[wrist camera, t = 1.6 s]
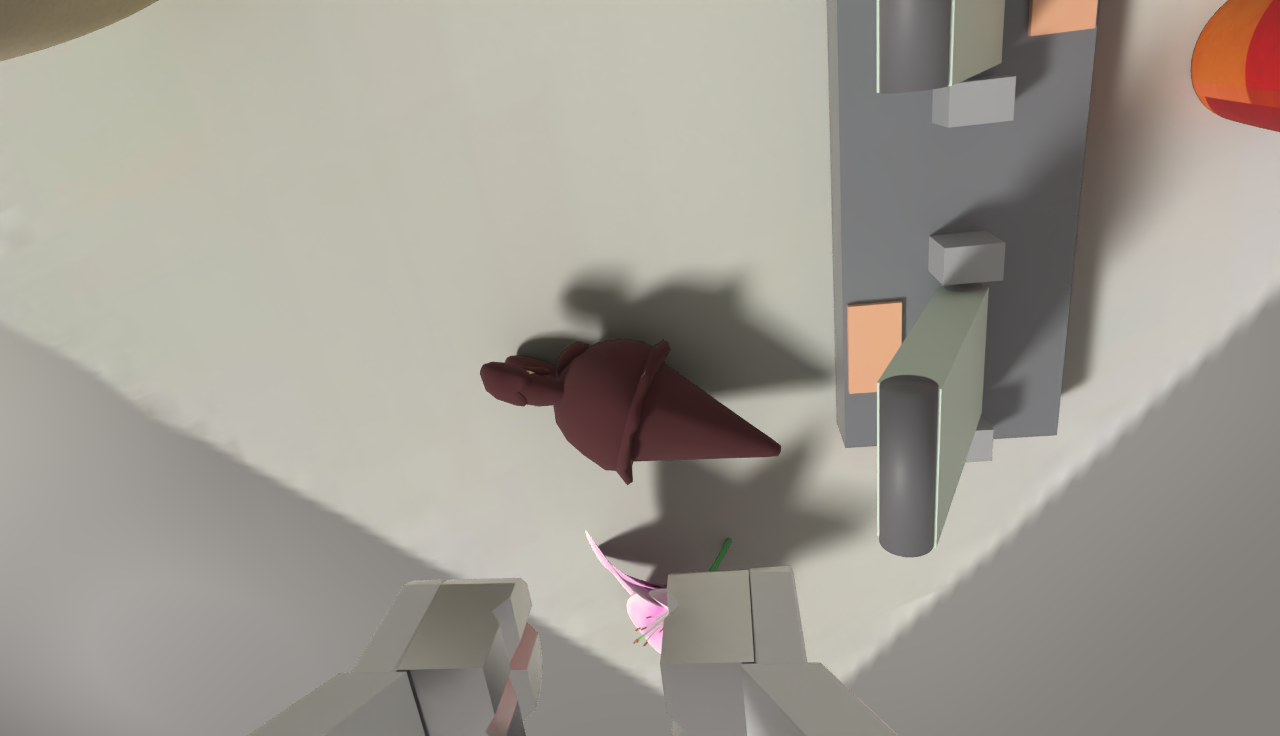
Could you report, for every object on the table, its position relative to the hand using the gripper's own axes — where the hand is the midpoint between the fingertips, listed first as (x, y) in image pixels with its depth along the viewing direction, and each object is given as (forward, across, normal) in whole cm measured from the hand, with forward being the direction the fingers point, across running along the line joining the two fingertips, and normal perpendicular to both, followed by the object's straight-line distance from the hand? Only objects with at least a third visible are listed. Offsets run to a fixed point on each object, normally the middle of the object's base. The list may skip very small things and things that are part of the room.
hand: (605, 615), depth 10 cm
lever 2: (+25, -12, +7) cm, 29 cm away
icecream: (+29, +3, +9) cm, 31 cm away
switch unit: (+29, -12, 0) cm, 31 cm away
